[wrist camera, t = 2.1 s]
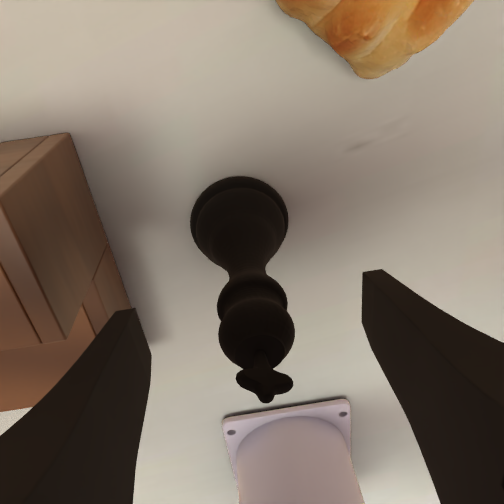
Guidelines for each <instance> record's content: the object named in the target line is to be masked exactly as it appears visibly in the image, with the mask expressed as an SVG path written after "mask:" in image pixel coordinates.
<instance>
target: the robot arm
mask: <svg viewBox="0 0 504 504" xmlns="http://www.w3.org/2000/svg"><path fill="white" fill-rule="evenodd" d="M362 324H363V327H364V330H365V333H366V335H367V338H368V341H369V343H370V346H371V349H372V351H373V353H374V355H375V357H376V359H377V361H378V362H379V364H380V366H381V368H382V370H383V372H384V374H385V376H386V378H387V380H388V381H389V383H390V385H391V387H392V389H393V391H394V393H395V395H396V397H397V399H398V400H399V402H400V404H401V406H402V408H403V410H404V412H405V414H406V416H407V418H408V420H409V423H410V425H411V427H412V430H413V432H414V435H415V437H416V440H417V442H418V445H419V447H420V450H421V452H422V455H423V457H424V460H425V463H426V465H427V468H428V470H429V473H430V476H431V478H432V481H433V484H434V486H435V489H436V492H437V495H438V497H439V500H440V503H441V504H504V343H503V342H501V341H498V340H496V339H494V338H492V337H490V336H488V335H486V334H484V333H482V332H480V331H478V330H476V329H474V328H472V327H470V326H468V325H466V324H465V323H463V322H461V321H459V320H458V319H456V318H454V317H452V316H451V315H449V314H447V313H446V312H444V311H442V310H441V309H439V308H438V307H436V306H434V305H433V304H431V303H430V302H428V301H427V300H425V299H424V298H422V297H421V296H419V295H418V294H416V293H415V292H413V291H412V290H411V289H409V288H408V287H406V286H405V285H404V284H402V283H401V282H399V281H398V280H397V279H395V278H394V277H392V276H391V275H390V274H388V273H387V272H385V271H384V270H382V269H380V270H373V271H367V272H363V280H362ZM151 356H152V355H151V352H150V349H149V346H148V344H147V341H146V338H145V335H144V332H143V329H142V326H141V324H140V321H139V318H138V315H137V312H136V309H135V308H132V309H125V310H119V311H115V313H114V314H113V315H112V316H111V318H110V319H109V320H108V321H107V323H106V324H105V325H104V327H103V328H102V329H101V330H100V332H99V333H98V334H97V336H96V337H95V338H94V340H93V341H92V342H91V343H90V345H89V346H88V347H87V348H86V350H85V351H84V352H83V353H82V355H81V356H80V357H79V358H78V360H77V361H76V362H75V363H74V364H73V365H72V367H71V368H70V369H69V370H68V371H67V372H66V373H65V375H64V376H63V377H62V378H61V379H60V380H59V381H58V382H57V384H56V385H55V386H54V387H53V388H52V389H51V390H50V391H49V392H48V393H47V394H46V395H45V396H44V397H43V398H42V399H41V400H40V401H39V402H38V403H37V404H36V405H35V406H34V407H33V408H32V409H31V410H30V411H29V412H27V413H26V414H25V415H24V416H23V417H22V418H21V419H20V420H18V421H17V422H16V423H15V424H14V425H13V426H11V427H10V428H9V429H8V430H7V431H6V432H4V433H3V434H2V435H1V436H0V504H133V493H134V481H135V469H136V461H137V454H138V448H139V443H140V438H141V432H142V427H143V422H144V416H145V411H146V405H147V400H148V394H149V388H150V378H151ZM222 430H223V434H224V438H225V441H226V445H227V449H228V453H229V457H230V461H231V465H232V469H233V473H234V477H235V480H236V484H237V488H238V492H239V504H365V503H364V500H363V496H362V493H361V490H360V487H359V484H358V481H357V478H356V474H355V471H354V468H353V465H352V462H351V407H350V404H349V401H348V400H346V399H338V400H331V401H325V402H319V403H313V404H307V405H301V406H294V407H288V408H282V409H276V410H270V411H264V412H257V413H251V414H245V415H239V416H233V417H228V418H225V419H224V420H223V421H222Z"/></svg>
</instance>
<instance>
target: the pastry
mask: <svg viewBox="0 0 504 504" xmlns="http://www.w3.org/2000/svg"><path fill="white" fill-rule="evenodd" d="M473 1H474V0H276V2H277V4H278V5H279V7H280V8H281V9H282V10H283V11H284V12H285V13H286V14H288V15H289V16H290V17H293V18H296V19H299V20H301V21H303V22H305V23H306V24H307V26H308V27H309V28H310V29H311V30H312V31H313V32H314V33H315V34H316V35H317V36H319V37H320V38H322V39H323V40H324V41H325V42H326V43H328V44H329V45H330V46H331V47H332V48H333V49H334V50H335V51H336V52H337V53H338V54H339V55H340V56H341V57H343V58H344V59H345V60H346V61H348V62H349V64H350V66H351V67H352V69H353V71H354V72H355V73H356V74H357V75H358V76H359V77H361V78H364V79H374V78H378V77H380V76H382V75H384V74H386V73H388V72H390V71H391V70H393V69H397V68H399V67H400V66H402V65H403V64H404V63H406V62H407V61H408V59H409V58H410V57H411V56H412V55H413V54H415V53H418V52H420V51H422V50H423V49H425V48H426V47H428V46H429V45H430V44H432V43H433V42H435V41H436V40H437V39H438V38H439V36H441V35H442V34H443V33H444V31H445V30H446V29H447V28H448V27H449V26H451V25H452V24H453V23H454V22H455V21H456V20H457V19H458V18H459V17H460V16H461V15H462V13H463V12H464V11H465V10H466V9H467V8H468V7H469V6H470V4H471V3H472V2H473Z"/></svg>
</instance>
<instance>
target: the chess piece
mask: <svg viewBox="0 0 504 504" xmlns="http://www.w3.org/2000/svg"><path fill="white" fill-rule="evenodd" d="M190 228H191V233H192V236H193V239H194V241H195V243H196V245H197V246H198V248H199V249H200V250H201V251H202V253H203V254H205V255H206V256H207V257H208V258H209V259H210V260H211V261H212V262H214V263H215V264H217V265H219V266H221V267H222V268H223V269H225V270H226V271H227V272H228V274H229V282H228V283H227V284H226V285H225V287H224V288H223V289H222V291H221V293H220V295H219V298H218V302H217V312H218V316H219V318H220V320H221V323H220V327H219V332H218V335H219V343H220V346H221V348H222V350H223V352H224V354H225V355H226V356H227V357H228V358H229V360H231V361H232V362H233V363H235V364H236V365H238V366H240V367H241V368H242V369H243V370H241V371H239V372H238V373H237V375H236V381H237V383H238V384H239V385H240V386H241V387H242V388H244V389H246V390H249V391H251V392H253V393H255V394H256V395H257V396H258V398H259V400H260V401H261V402H262V403H270V402H271V401H272V400H273V399H274V396H275V395H278V394H283V393H286V392H288V391H289V390H291V388H292V387H293V381H292V379H291V378H290V377H289V376H288V375H286V374H283V373H279V372H277V371H275V370H273V368H275V367H276V366H277V365H279V364H280V363H281V361H282V360H283V359H284V358H285V357H286V355H287V354H288V353H289V351H290V349H291V347H292V345H293V342H294V337H295V328H294V323H293V321H292V318H291V317H290V315H289V313H288V312H287V305H288V302H287V297H286V294H285V292H284V290H283V288H282V287H281V286H280V285H279V283H277V282H276V281H275V280H274V279H272V278H271V277H269V276H268V275H267V274H266V271H265V267H266V264H267V263H268V262H269V260H270V259H271V258H272V257H273V256H274V255H275V253H276V252H277V251H278V249H279V248H280V246H281V244H282V242H283V240H284V238H285V236H286V233H287V229H288V213H287V209H286V206H285V204H284V202H283V200H282V198H281V197H280V195H279V194H278V193H277V192H276V191H275V190H274V189H273V188H272V187H271V186H269V185H268V184H266V183H264V182H262V181H260V180H257V179H254V178H250V177H232V178H227V179H224V180H221V181H218V182H216V183H215V184H213V185H211V186H210V187H208V188H207V189H206V190H205V191H204V192H203V193H202V194H201V195H200V196H199V198H198V199H197V201H196V203H195V205H194V207H193V209H192V213H191V219H190Z"/></svg>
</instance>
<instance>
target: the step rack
mask: <svg viewBox="0 0 504 504" xmlns="http://www.w3.org/2000/svg"><path fill="white" fill-rule="evenodd" d="M107 242H108V241H107V238H106V235H105V232H104V230H103V227H102V224H101V221H100V218H99V215H98V213H97V210H96V207H95V204H94V201H93V198H92V196H91V193H90V190H89V187H88V184H87V181H86V179H85V176H84V173H83V170H82V167H81V164H80V162H79V159H78V156H77V153H76V150H75V147H74V145H73V142H72V139H71V136H70V134H69V133H62V134H56V135H50V136H42V137H35V138H29V139H22V140H15V141H9V142H2V143H0V412H4V411H10V410H16V409H22V408H29V407H34V406H35V405H36V404H37V403H38V402H39V401H40V400H41V399H42V398H43V397H44V396H45V395H46V394H47V393H48V392H49V391H50V390H51V389H52V388H53V387H54V386H55V385H56V384H57V382H58V381H59V380H60V379H61V378H62V377H63V376H64V375H65V373H66V372H67V371H68V370H69V369H70V368H71V367H72V365H73V364H74V363H75V362H76V361H77V360H78V358H79V357H80V356H81V355H82V353H83V352H84V351H85V350H86V348H87V347H88V346H89V345H90V343H91V342H92V341H93V340H94V338H95V337H96V336H97V334H98V333H99V332H100V330H101V329H102V328H103V327H104V325H105V324H106V323H107V321H108V320H109V319H110V318H111V316H112V315H113V314H114V313H115V311H119V310H125V309H131V306H130V303H129V300H128V297H127V295H126V292H125V289H124V286H123V283H122V280H121V278H120V275H119V272H118V269H117V266H116V263H115V261H114V258H113V255H112V252H111V249H110V246H109V244H108V243H107Z"/></svg>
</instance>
